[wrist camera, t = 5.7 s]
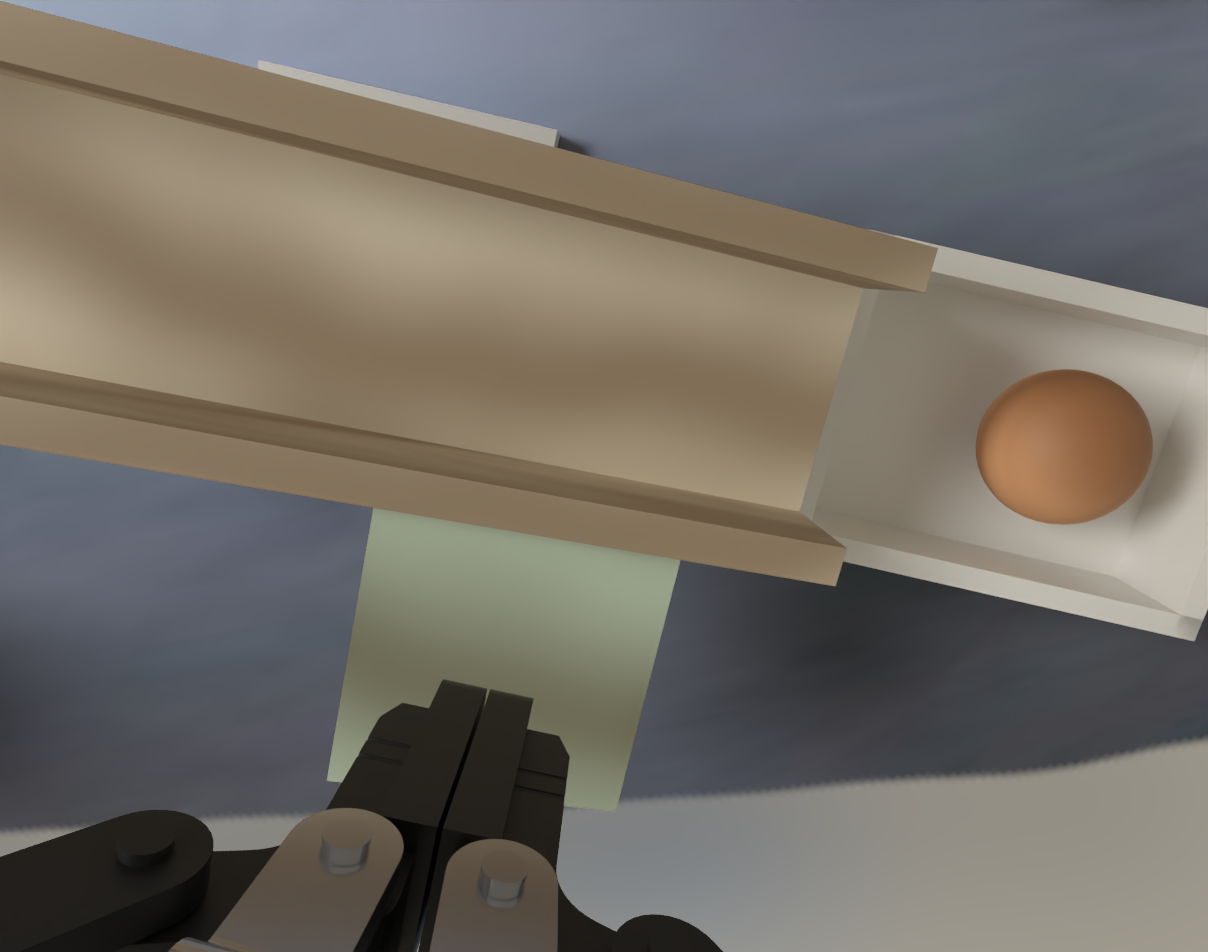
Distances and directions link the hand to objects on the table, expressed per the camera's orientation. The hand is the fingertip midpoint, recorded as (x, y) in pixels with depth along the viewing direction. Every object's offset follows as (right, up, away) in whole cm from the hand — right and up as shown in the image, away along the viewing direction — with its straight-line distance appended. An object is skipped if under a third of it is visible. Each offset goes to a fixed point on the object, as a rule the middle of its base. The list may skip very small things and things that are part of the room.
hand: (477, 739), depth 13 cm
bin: (+13, +6, +11) cm, 18 cm away
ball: (+14, +5, +8) cm, 17 cm away
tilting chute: (-6, +6, +6) cm, 10 cm away
